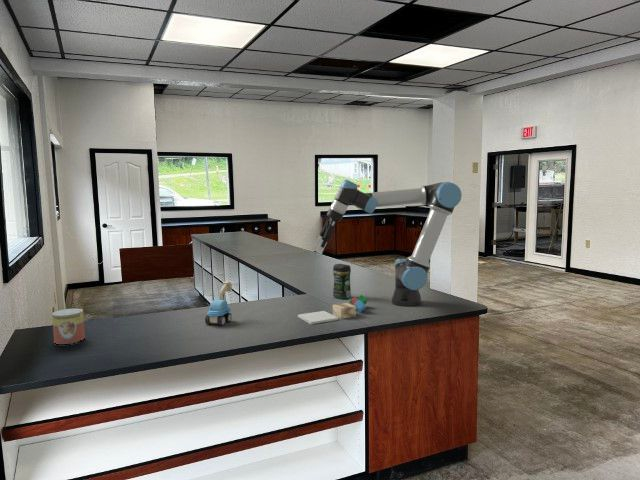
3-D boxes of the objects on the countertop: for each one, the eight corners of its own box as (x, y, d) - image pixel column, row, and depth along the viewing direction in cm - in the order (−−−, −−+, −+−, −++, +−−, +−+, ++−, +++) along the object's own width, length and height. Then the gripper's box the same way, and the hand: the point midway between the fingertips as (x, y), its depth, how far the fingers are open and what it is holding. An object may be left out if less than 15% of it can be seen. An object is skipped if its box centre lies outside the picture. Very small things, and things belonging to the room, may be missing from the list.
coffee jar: (330, 297, 263) (330, 263, 260) (341, 295, 268) (341, 262, 266) (342, 300, 255) (342, 266, 253) (353, 297, 260) (353, 264, 258)
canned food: (52, 346, 187) (50, 316, 185) (55, 338, 197) (53, 310, 196) (84, 342, 191) (82, 313, 190) (85, 334, 201) (84, 307, 200)
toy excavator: (239, 317, 226) (238, 281, 224) (220, 327, 210) (219, 288, 208) (223, 315, 229) (221, 280, 227) (203, 325, 213) (202, 287, 211)
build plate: (324, 312, 231) (324, 310, 231) (338, 319, 218) (338, 317, 218) (297, 316, 224) (297, 314, 224) (310, 324, 212) (310, 322, 212)
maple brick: (347, 313, 231) (347, 302, 230) (355, 316, 224) (355, 306, 223) (332, 315, 227) (332, 304, 227) (340, 319, 220) (340, 308, 220)
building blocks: (360, 318, 237) (358, 309, 227) (349, 307, 241) (347, 298, 231) (372, 308, 239) (371, 299, 229) (361, 297, 243) (359, 287, 232)
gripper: (327, 205, 240) (308, 243, 241) (332, 209, 215) (312, 251, 217) (340, 212, 241) (321, 250, 242) (347, 216, 216) (327, 258, 218)
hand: (317, 251), depth 230 cm, fingers open, 13 cm apart
